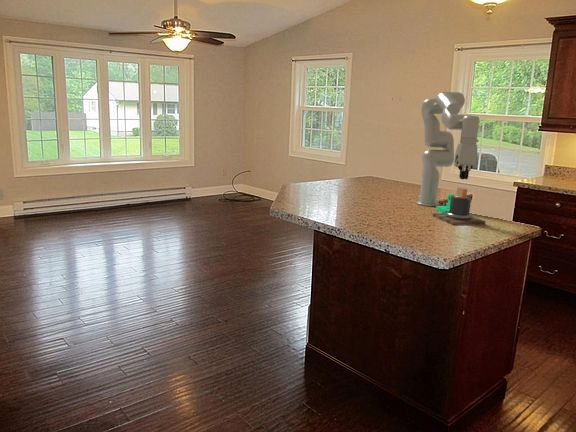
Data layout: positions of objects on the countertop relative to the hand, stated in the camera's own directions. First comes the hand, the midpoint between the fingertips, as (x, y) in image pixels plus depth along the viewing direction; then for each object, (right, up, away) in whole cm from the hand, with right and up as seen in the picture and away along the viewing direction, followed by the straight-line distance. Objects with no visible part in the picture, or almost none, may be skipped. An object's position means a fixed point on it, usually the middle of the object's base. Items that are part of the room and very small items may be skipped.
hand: (463, 178), depth 240 cm
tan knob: (-1, -13, +3) cm, 14 cm away
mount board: (-1, -20, +5) cm, 21 cm away
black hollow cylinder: (-1, -19, +5) cm, 20 cm away
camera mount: (-1, -17, +22) cm, 28 cm away
